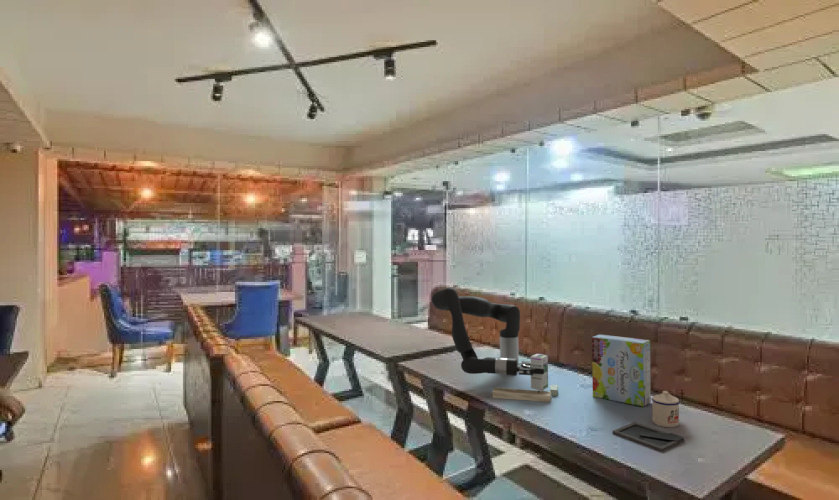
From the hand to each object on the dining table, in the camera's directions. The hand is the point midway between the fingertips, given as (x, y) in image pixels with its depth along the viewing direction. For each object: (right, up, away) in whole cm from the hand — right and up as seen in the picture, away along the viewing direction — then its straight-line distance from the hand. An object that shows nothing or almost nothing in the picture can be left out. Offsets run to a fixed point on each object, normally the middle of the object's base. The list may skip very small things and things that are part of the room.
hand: (544, 369), depth 220 cm
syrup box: (-2, -9, +1) cm, 9 cm away
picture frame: (+23, -13, -48) cm, 55 cm away
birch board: (-11, -11, -5) cm, 16 cm away
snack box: (+29, -10, -10) cm, 33 cm away
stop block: (+4, -10, -1) cm, 11 cm away
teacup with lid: (+36, -11, -35) cm, 52 cm away
